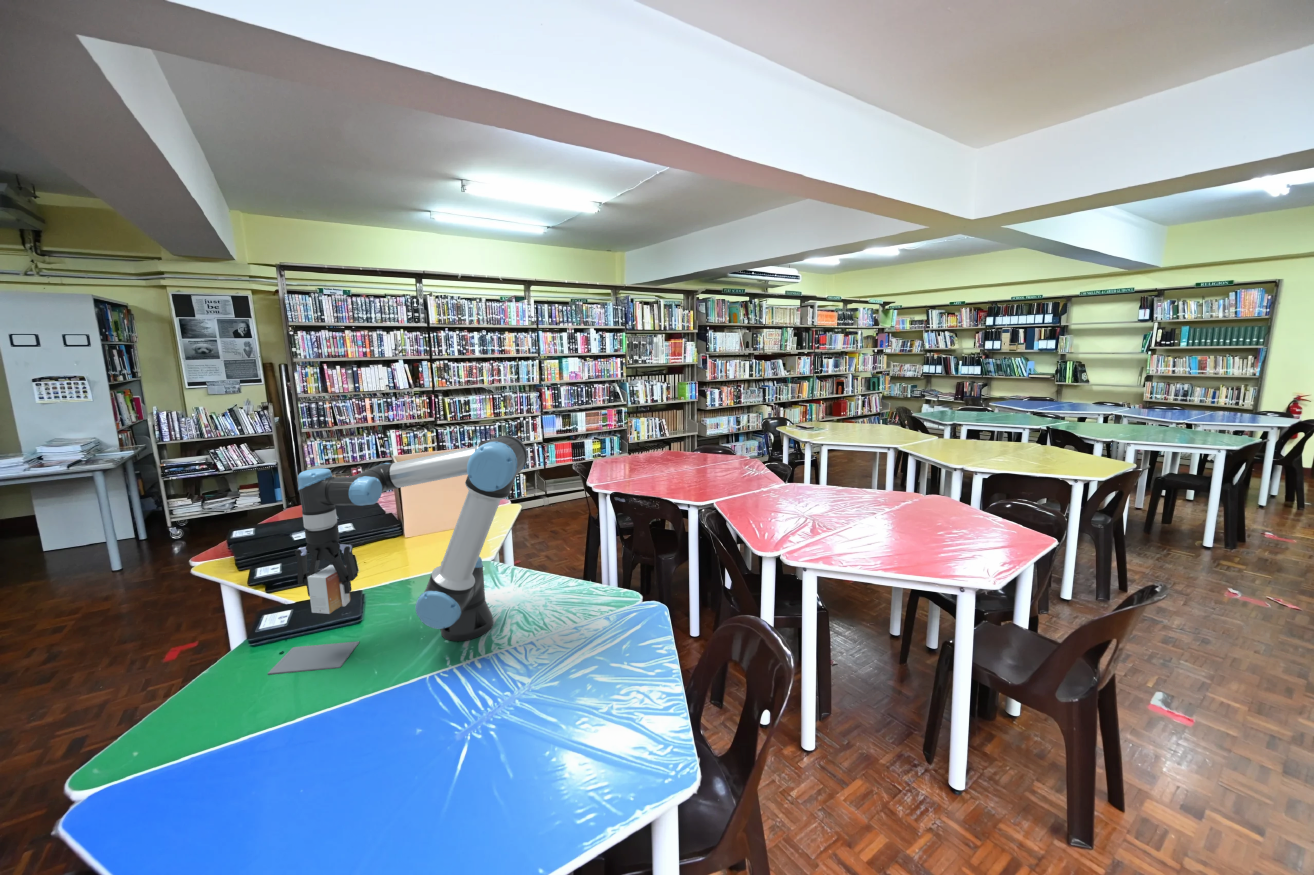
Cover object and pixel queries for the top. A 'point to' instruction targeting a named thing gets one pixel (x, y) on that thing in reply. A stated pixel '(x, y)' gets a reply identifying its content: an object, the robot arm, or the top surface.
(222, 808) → the top surface
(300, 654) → the mat
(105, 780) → the top surface
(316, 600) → the small box
